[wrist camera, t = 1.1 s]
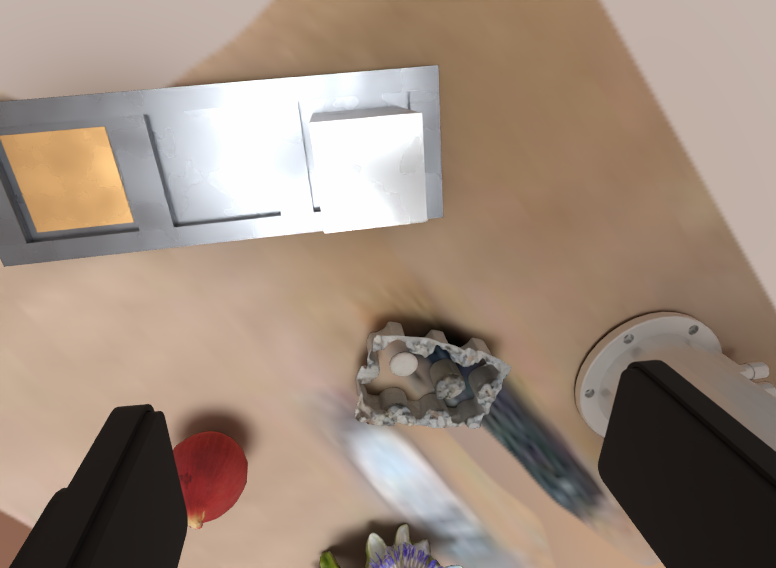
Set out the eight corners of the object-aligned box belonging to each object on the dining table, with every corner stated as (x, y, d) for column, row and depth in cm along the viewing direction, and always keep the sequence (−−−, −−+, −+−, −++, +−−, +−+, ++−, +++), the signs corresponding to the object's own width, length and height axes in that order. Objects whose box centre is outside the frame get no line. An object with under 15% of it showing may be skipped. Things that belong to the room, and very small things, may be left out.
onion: (177, 466, 37) (142, 558, 30) (176, 407, 35) (139, 491, 28) (252, 468, 38) (235, 557, 31) (255, 411, 36) (239, 493, 29)
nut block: (396, 105, 28) (422, 112, 21) (401, 188, 30) (427, 221, 23) (312, 113, 27) (309, 123, 20) (323, 196, 29) (324, 233, 22)
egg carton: (345, 389, 37) (347, 423, 33) (375, 307, 35) (381, 334, 31) (465, 415, 39) (480, 449, 36) (502, 340, 37) (521, 369, 33)
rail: (431, 66, 28) (438, 65, 27) (437, 210, 32) (443, 217, 30) (-43, 106, 26) (-67, 107, 24) (20, 257, 29) (4, 266, 28)
